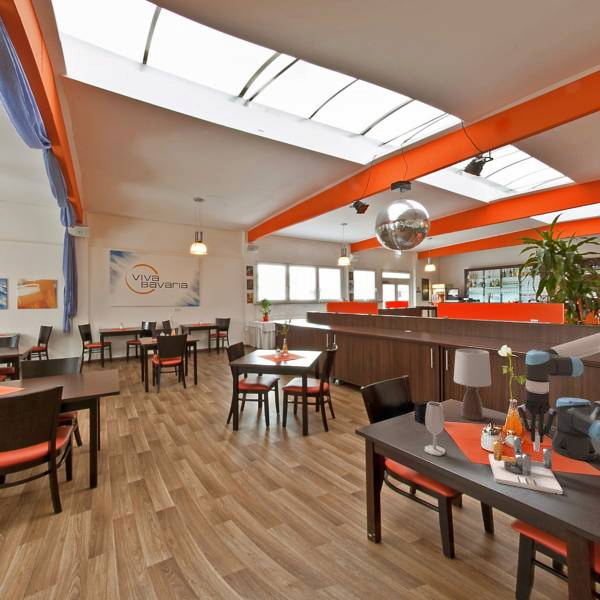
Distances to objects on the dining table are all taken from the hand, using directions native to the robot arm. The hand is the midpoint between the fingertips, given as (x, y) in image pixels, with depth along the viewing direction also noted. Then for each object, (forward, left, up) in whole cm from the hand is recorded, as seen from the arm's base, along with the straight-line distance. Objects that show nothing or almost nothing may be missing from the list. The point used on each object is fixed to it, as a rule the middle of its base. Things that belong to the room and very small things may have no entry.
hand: (536, 450), depth 131 cm
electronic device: (+43, -35, -7) cm, 56 cm away
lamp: (+19, -50, -7) cm, 54 cm away
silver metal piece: (+6, +8, -5) cm, 11 cm away
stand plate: (+6, +8, -7) cm, 12 cm away
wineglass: (+37, +1, -7) cm, 38 cm away
